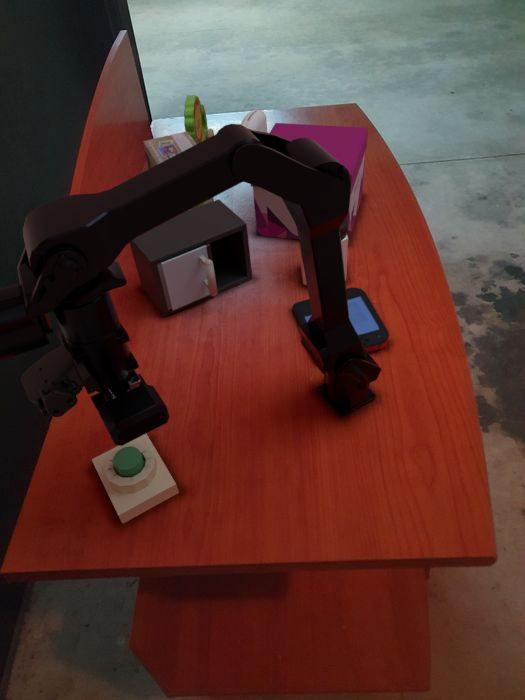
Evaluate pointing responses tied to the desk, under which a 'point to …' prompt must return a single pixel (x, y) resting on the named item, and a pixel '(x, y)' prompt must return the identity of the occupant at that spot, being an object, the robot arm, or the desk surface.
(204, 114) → the toy lion
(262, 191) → the decorative box
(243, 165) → the robot arm
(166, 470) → the button block
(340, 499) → the desk surface
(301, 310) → the game console
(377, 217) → the desk surface
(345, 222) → the jar
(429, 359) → the desk surface
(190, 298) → the gray cabinet door
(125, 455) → the button
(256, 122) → the photo printer
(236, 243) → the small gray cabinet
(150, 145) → the tea box
